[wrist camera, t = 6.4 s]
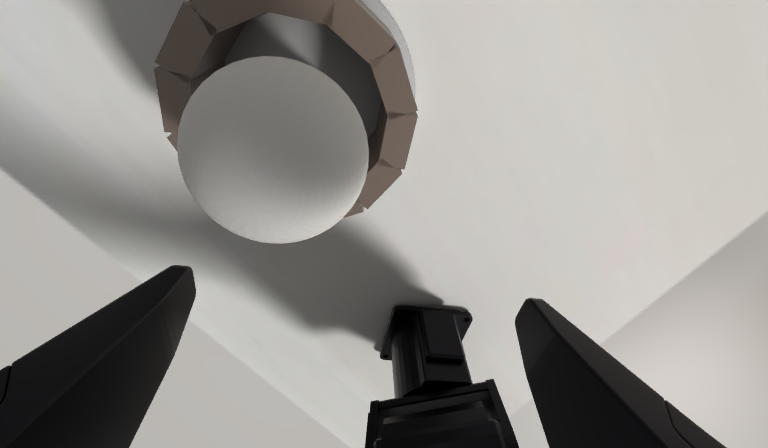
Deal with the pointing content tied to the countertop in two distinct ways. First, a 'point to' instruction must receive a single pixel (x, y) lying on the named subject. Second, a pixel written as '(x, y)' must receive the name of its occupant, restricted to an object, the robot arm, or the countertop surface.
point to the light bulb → (272, 149)
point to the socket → (310, 46)
